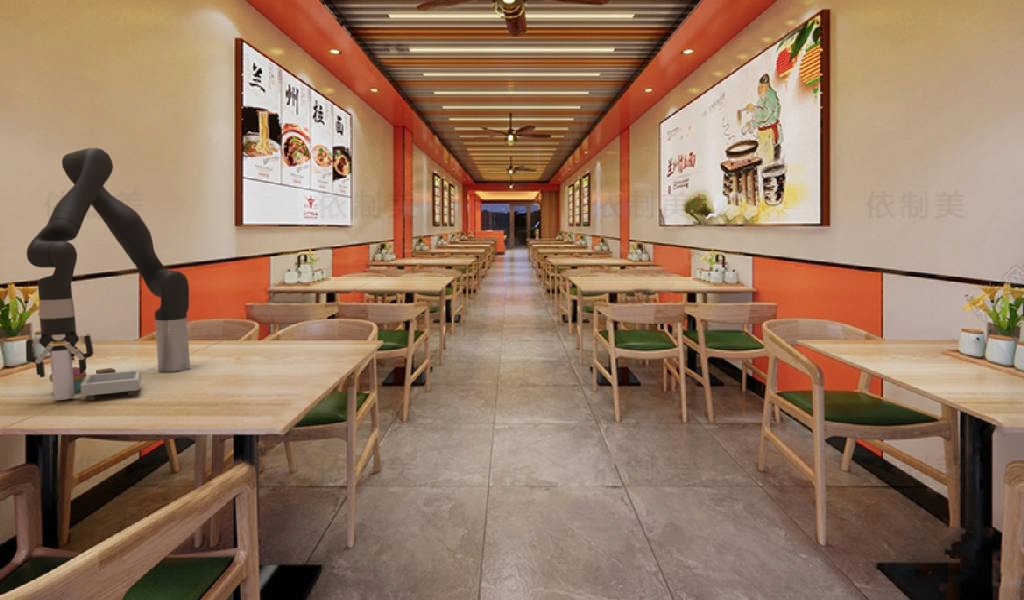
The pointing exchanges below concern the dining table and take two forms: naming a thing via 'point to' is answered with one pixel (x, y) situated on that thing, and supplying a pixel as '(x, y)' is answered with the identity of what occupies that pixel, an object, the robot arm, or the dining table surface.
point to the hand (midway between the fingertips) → (62, 374)
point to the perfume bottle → (62, 370)
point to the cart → (110, 383)
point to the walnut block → (105, 371)
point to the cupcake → (76, 378)
